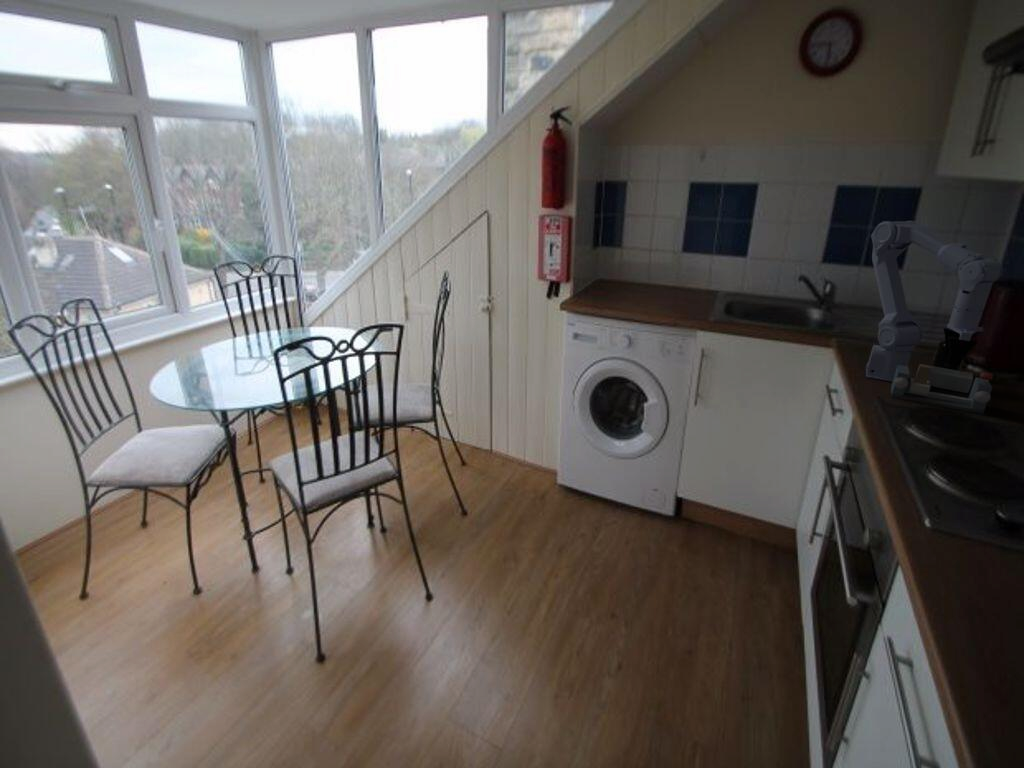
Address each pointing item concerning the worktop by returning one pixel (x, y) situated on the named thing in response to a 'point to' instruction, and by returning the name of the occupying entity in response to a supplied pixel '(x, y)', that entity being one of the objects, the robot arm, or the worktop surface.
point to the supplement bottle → (943, 358)
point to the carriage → (920, 381)
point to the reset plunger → (986, 376)
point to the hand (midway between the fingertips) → (951, 360)
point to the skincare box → (950, 379)
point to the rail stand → (971, 404)
